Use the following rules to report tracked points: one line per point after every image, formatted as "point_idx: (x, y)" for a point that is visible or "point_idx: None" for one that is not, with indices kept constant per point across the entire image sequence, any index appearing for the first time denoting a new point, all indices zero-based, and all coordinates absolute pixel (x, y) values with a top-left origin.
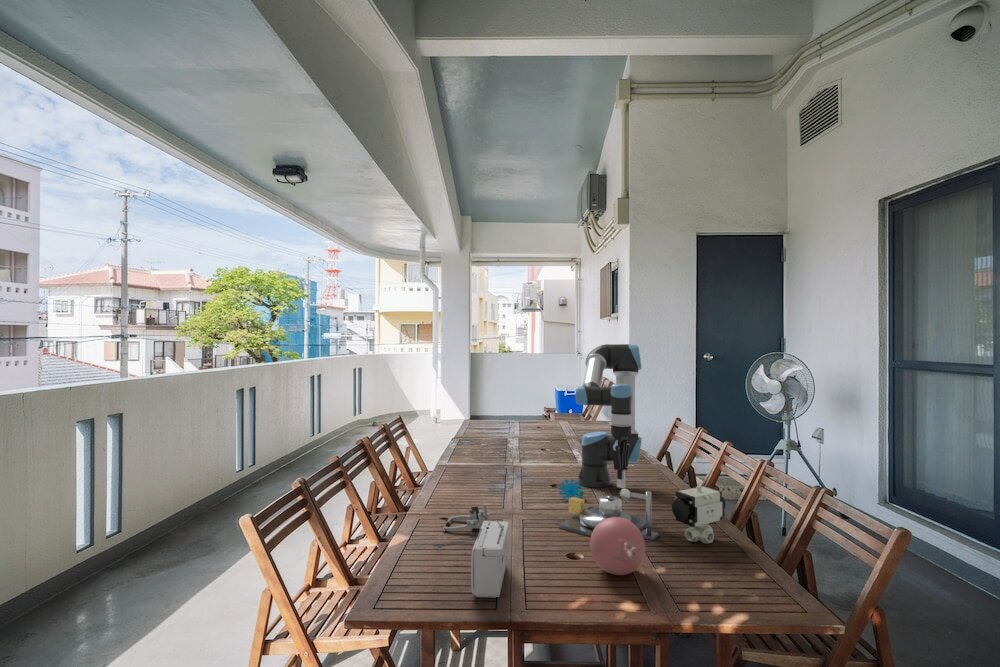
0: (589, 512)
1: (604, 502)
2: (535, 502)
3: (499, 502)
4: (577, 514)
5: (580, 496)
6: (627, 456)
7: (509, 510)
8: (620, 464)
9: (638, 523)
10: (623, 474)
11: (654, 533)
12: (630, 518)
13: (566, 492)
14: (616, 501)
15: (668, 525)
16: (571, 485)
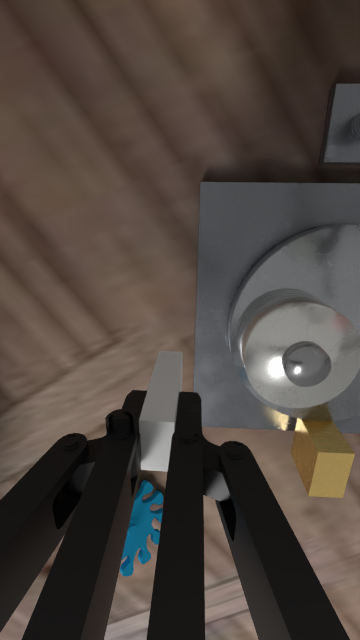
0: None
1: (357, 366)
2: (227, 551)
3: None
4: (293, 428)
5: None
6: (12, 537)
7: (328, 571)
8: (247, 491)
9: (270, 210)
10: (176, 403)
11: (353, 98)
12: (309, 236)
13: (146, 526)
14: (325, 323)
15: (176, 98)
16: None
